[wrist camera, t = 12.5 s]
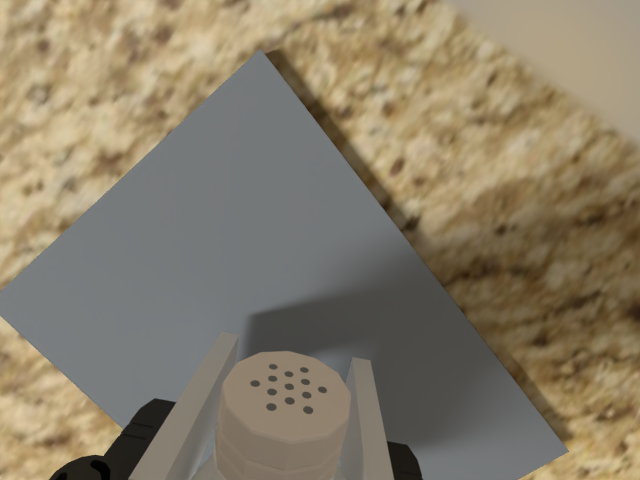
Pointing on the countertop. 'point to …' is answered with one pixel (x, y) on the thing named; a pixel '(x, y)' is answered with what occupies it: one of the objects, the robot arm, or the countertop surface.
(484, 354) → the rubber mat
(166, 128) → the countertop surface
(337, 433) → the salt shaker
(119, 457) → the robot arm
